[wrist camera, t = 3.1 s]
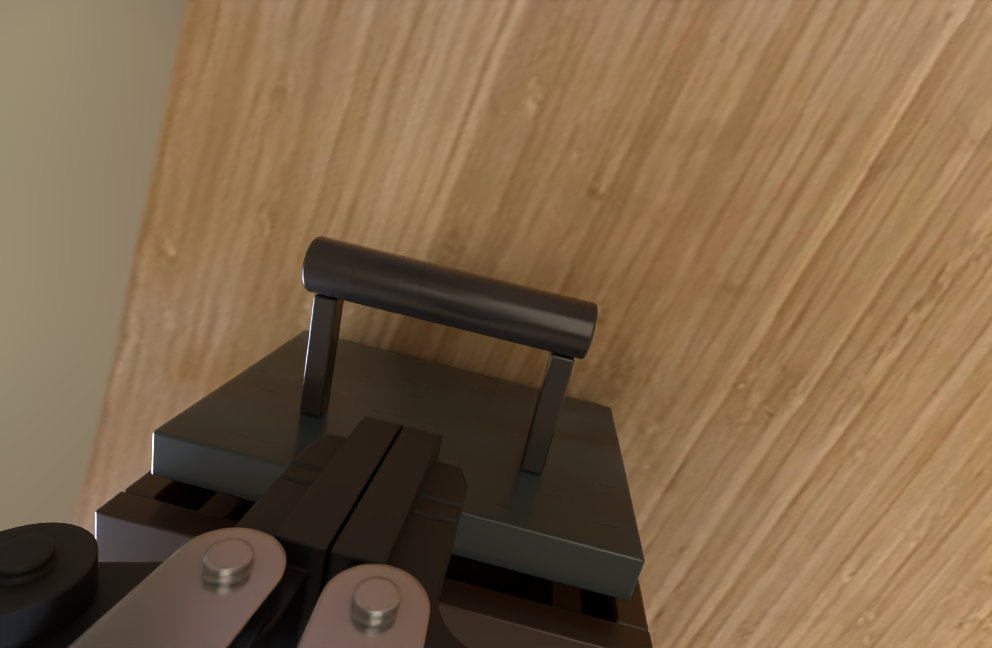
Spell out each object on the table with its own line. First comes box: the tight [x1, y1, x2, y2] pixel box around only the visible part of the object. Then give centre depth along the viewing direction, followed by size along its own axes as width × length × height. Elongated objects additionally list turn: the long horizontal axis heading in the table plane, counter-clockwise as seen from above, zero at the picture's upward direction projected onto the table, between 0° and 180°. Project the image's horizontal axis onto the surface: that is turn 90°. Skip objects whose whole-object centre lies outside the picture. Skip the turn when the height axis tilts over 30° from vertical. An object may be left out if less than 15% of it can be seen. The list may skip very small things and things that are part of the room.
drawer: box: [152, 236, 645, 614], centre depth 17 cm, size 18×11×8 cm, turn 167°
